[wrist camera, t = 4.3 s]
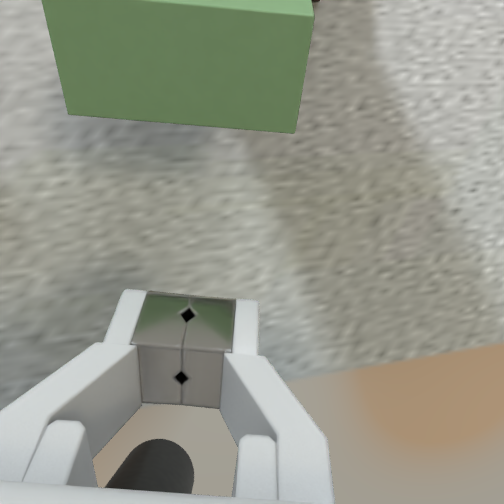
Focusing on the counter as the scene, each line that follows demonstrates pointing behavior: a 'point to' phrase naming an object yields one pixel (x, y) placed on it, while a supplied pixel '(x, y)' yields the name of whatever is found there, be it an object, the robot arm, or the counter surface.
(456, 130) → the counter surface
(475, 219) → the counter surface
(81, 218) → the counter surface
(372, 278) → the counter surface
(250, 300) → the robot arm
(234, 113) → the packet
